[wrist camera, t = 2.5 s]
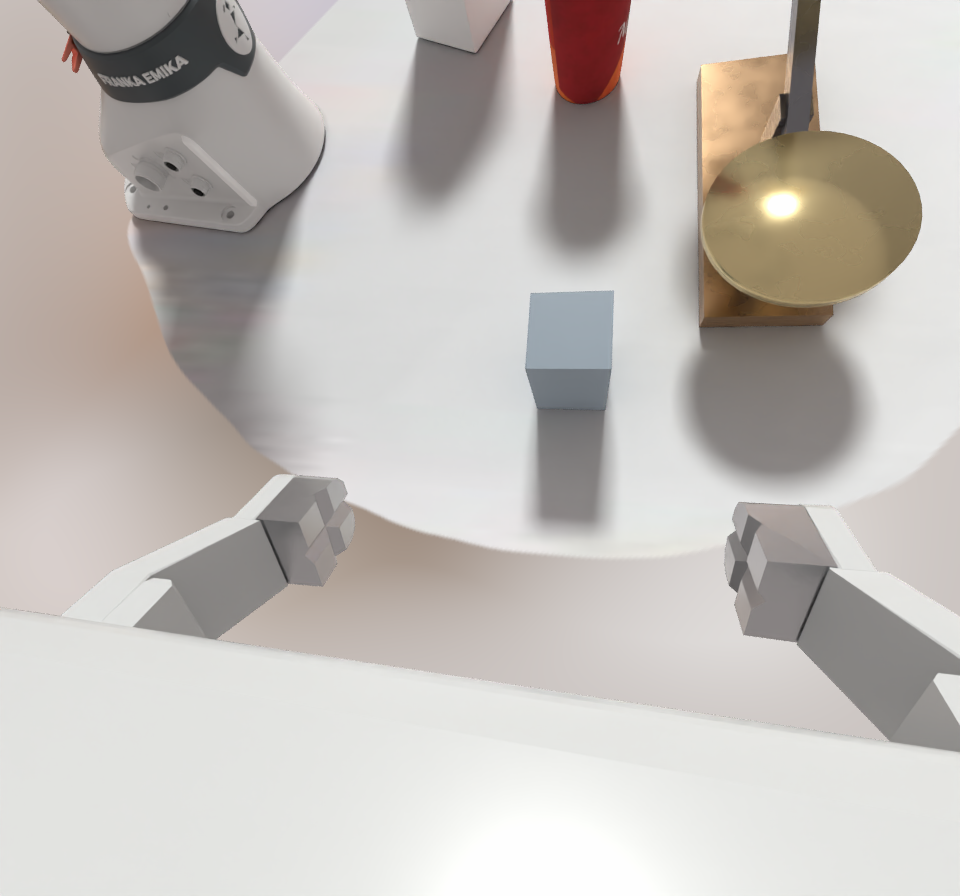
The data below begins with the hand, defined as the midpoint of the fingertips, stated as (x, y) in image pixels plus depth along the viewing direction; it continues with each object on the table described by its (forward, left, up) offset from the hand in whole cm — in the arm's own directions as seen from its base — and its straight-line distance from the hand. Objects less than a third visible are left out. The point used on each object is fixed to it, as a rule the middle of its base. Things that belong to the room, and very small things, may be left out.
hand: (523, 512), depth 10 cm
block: (0, +12, -25) cm, 28 cm away
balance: (+13, +27, -25) cm, 39 cm away
